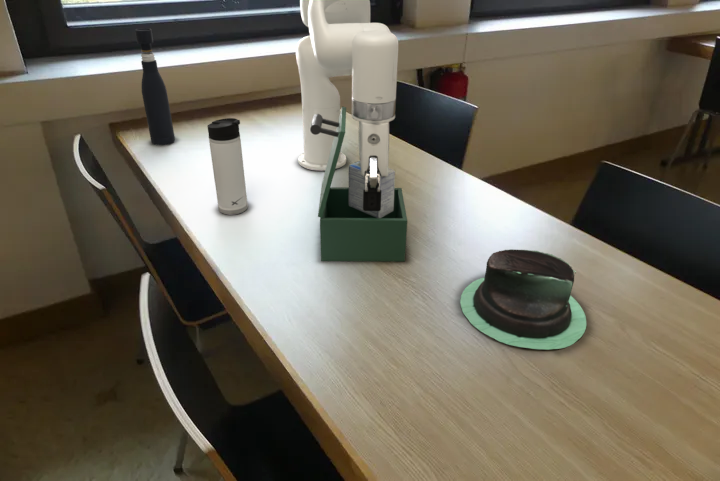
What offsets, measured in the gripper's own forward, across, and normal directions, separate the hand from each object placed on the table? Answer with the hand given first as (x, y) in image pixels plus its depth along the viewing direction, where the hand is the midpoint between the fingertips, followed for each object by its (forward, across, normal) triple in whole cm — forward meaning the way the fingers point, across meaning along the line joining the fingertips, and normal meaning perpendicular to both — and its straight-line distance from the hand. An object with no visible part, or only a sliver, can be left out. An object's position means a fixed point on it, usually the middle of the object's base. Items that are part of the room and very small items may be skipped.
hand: (371, 198), depth 100 cm
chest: (+10, 0, +2) cm, 10 cm away
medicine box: (+2, 0, 0) cm, 2 cm away
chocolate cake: (+10, -21, -24) cm, 34 cm away
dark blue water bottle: (+10, +55, +58) cm, 80 cm away
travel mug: (+10, +14, +30) cm, 34 cm away
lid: (-7, 0, +7) cm, 10 cm away
